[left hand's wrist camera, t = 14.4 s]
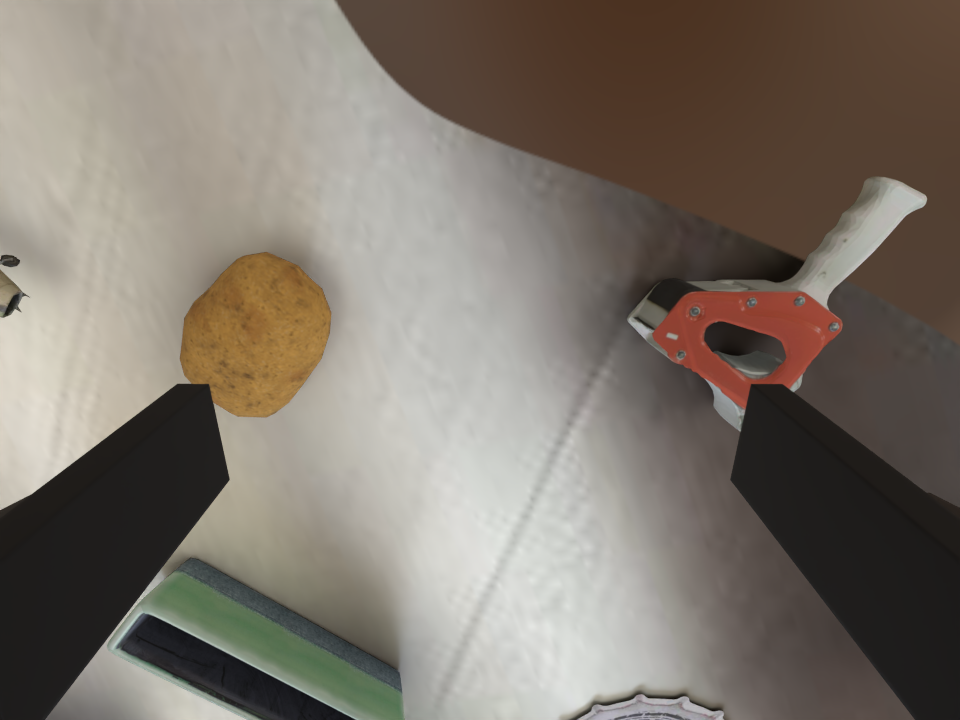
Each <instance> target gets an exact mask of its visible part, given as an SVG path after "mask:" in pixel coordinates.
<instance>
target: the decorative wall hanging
mask: <svg viewBox="0 0 960 720" xmlns="http://www.w3.org/2000/svg"><path fill="white" fill-rule="evenodd" d="M723 715H724V712H723V711H715V712H712V711H710V710H707V709H705V708H703V707H700V706H697V705H695V704H693V703H691V702H690V701H689V698H688V697H686V696H683V697H680V698H679V699H675V700H672V699H651V698H647V697H645V695H642V694H640V695H636V696H635V698H634V699H632V700H630V701H626V702H621V703H617V704H613V705H609V706H602V705H598V704H597V705H594V706H593V707H592V710H591V712H589V713H588V714H586V715H584V716H582V717H581V718H579V719H577V720H724V719H723Z"/></svg>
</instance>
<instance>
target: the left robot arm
mask: <svg viewBox="0 0 960 720" xmlns="http://www.w3.org/2000/svg"><path fill="white" fill-rule="evenodd" d="M229 480H230V479H229V474H228V470H227V465H226V460H225V456H224V451H223V446H222V442H221V437H220V432H219V428H218V423H217V418H216V414H215V409H214V404H213V400H212V395H211V390H210V386H209V384H177V385H175V386H174V387H173V388H171V389H170V390H169V391H167V392H166V393H165V394H164V395H162V396H161V397H160V398H158V399H157V400H156V401H154V402H153V403H152V404H150V405H149V406H148V407H146V408H145V409H144V410H142V411H141V412H140V413H138V414H137V415H136V416H134V417H133V418H132V419H131V420H129V421H128V422H127V423H125V424H124V425H123V426H121V427H120V428H119V429H117V430H116V431H115V432H113V433H112V434H111V435H109V436H108V437H107V438H105V439H104V440H103V441H101V442H100V443H99V444H98V445H96V446H95V447H94V448H92V449H91V450H90V451H88V452H87V453H86V454H84V455H83V456H82V457H80V458H79V459H78V460H76V461H75V462H74V463H72V464H71V465H70V466H68V467H67V468H66V469H65V470H63V471H62V472H61V473H59V474H58V475H57V476H55V477H54V478H53V479H51V480H50V481H49V482H47V483H46V484H45V485H43V486H42V487H41V488H39V489H38V490H37V491H35V492H34V493H33V494H32V495H29V496H27V497H25V498H23V499H22V500H20V501H18V502H16V503H14V504H12V505H10V506H8V507H6V508H4V509H2V510H0V720H45V719H46V718H47V716H48V715H49V714H50V712H51V711H52V710H53V708H54V707H55V706H56V705H57V703H58V702H59V701H60V699H61V698H62V697H63V695H64V694H65V693H66V692H67V690H68V689H69V688H70V686H71V685H72V684H73V683H74V681H75V680H76V679H77V677H78V676H79V675H80V673H81V672H82V671H83V670H84V668H85V667H86V666H87V664H88V663H89V662H90V660H91V659H92V658H93V657H94V655H95V654H96V653H97V651H98V650H99V649H100V647H101V646H102V645H103V644H104V642H105V641H106V640H107V638H108V637H109V636H110V634H111V633H112V632H113V631H114V629H115V628H116V627H117V625H118V624H119V623H120V621H121V620H122V619H123V618H124V616H125V615H126V614H127V612H128V611H129V610H130V608H131V607H132V606H133V605H134V603H135V602H136V601H137V599H138V598H139V597H140V596H141V594H142V593H143V592H144V590H145V589H146V588H147V586H148V585H149V584H150V583H151V581H152V580H153V579H154V577H155V576H156V575H157V573H158V572H159V571H160V570H161V568H162V567H163V566H164V564H165V563H166V562H167V560H168V559H169V558H170V557H171V555H172V554H173V553H174V551H175V550H176V549H177V547H178V546H179V545H180V544H181V542H182V541H183V540H184V538H185V537H186V536H187V534H188V533H189V532H190V531H191V529H192V528H193V527H194V525H195V524H196V523H197V522H198V520H199V519H200V518H201V516H202V515H203V514H204V512H205V511H206V510H207V509H208V507H209V506H210V505H211V503H212V502H213V501H214V499H215V498H216V497H217V496H218V494H219V493H220V492H221V490H222V489H223V488H224V486H225V485H226V484H227V483H228V481H229ZM730 480H731V481H732V483H733V484H734V485H735V486H736V488H737V489H738V490H739V492H740V493H741V494H742V496H743V497H744V498H745V499H746V501H747V502H748V503H749V505H750V506H751V507H752V509H753V510H754V511H755V512H756V514H757V515H758V516H759V518H760V519H761V520H762V522H763V523H764V524H765V525H766V527H767V528H768V529H769V531H770V532H771V533H772V534H773V536H774V537H775V538H776V540H777V541H778V542H779V544H780V545H781V546H782V547H783V549H784V550H785V551H786V553H787V554H788V555H789V557H790V558H791V559H792V560H793V562H794V563H795V564H796V566H797V567H798V568H799V570H800V571H801V572H802V573H803V575H804V576H805V577H806V579H807V580H808V581H809V583H810V584H811V585H812V586H813V588H814V589H815V590H816V592H817V593H818V594H819V596H820V597H821V598H822V599H823V601H824V602H825V603H826V605H827V606H828V607H829V609H830V610H831V611H832V612H833V614H834V615H835V616H836V618H837V619H838V620H839V621H840V623H841V624H842V625H843V627H844V628H845V629H846V631H847V632H848V633H849V634H850V636H851V637H852V638H853V640H854V641H855V642H856V644H857V645H858V646H859V647H860V649H861V650H862V651H863V653H864V654H865V655H866V657H867V658H868V659H869V660H870V662H871V663H872V664H873V666H874V667H875V668H876V670H877V671H878V672H879V673H880V675H881V676H882V677H883V679H884V680H885V681H886V683H887V684H888V685H889V686H890V688H891V689H892V690H893V692H894V693H895V694H896V695H897V697H898V698H899V699H900V701H901V702H902V703H903V705H904V706H905V707H906V708H907V710H908V711H909V712H910V714H911V715H912V716H913V718H914V719H915V720H960V508H959V507H957V506H955V505H953V504H951V503H949V502H947V501H945V500H943V499H941V498H939V497H937V496H935V495H933V494H931V493H926V492H925V491H923V490H922V489H921V488H919V487H918V486H917V485H915V484H914V483H913V482H911V481H910V480H909V479H907V478H906V477H905V476H903V475H902V474H901V473H899V472H898V471H897V470H895V469H894V468H893V467H892V466H890V465H889V464H888V463H886V462H885V461H884V460H882V459H881V458H880V457H878V456H877V455H876V454H874V453H873V452H872V451H870V450H869V449H868V448H866V447H865V446H864V445H862V444H861V443H860V442H859V441H857V440H856V439H855V438H853V437H852V436H851V435H849V434H848V433H847V432H845V431H844V430H843V429H841V428H840V427H839V426H837V425H836V424H835V423H833V422H832V421H831V420H829V419H828V418H827V417H826V416H824V415H823V414H822V413H820V412H819V411H818V410H816V409H815V408H814V407H812V406H811V405H810V404H808V403H807V402H806V401H804V400H803V399H802V398H800V397H799V396H798V395H796V394H795V393H794V392H793V391H791V390H790V389H789V388H787V387H786V386H785V385H783V384H751V386H750V390H749V395H748V400H747V404H746V409H745V414H744V418H743V423H742V428H741V432H740V437H739V442H738V446H737V451H736V456H735V460H734V465H733V470H732V474H731V479H730Z"/></svg>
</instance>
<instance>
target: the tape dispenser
mask: <svg viewBox="0 0 960 720" xmlns="http://www.w3.org/2000/svg"><path fill="white" fill-rule="evenodd" d="M926 201H927V198H926V196H925V195H924V194H922V193H921V192H919V191H917V190H914V189H912V188H911V187H909V186H907V185H906V184H904V183H902V182H900V181H897V180H894V179H890V178H886V177H878V176H877V177H870V178H868V179H867V180H866V181H865V182H864V185H863V188H862V191H861V193H860V195H859V197H858V198H857V200H856V201H855V203H854V204H853V205H852V206H851V207H850V208H849V209H848V210H846V211H845V212H843V213H842V215H841V217H840V219H839V221H838V223H837V225H836V226H835V227H834V228H833V229H832V230H831V231H830V232H828V233H827V234H826V235H825V237H824V239H823V241H822V242H821V244H820V245H819V246H818V247H817V249H816V250H814V251H813V252H811V253H810V254H809V255H808V256H807V258H806V260H805V262H804V264H803V266H802V267H801V269H800V270H799V271H798V273H797V274H796V275H795V276H793V277H792V278H791V279H789V280H786V281H784V282H780V283H774V282H771V281H767V280H717V281H690V282H684V281H682V280H679V279H675V278H669V279H666V280H663V281H661V282H659V283H658V284H657V285H655V286H654V288H653V289H652V290H651V291H650V292H649V293H648V294H647V295H646V296H645V298H644V299H643V300H642V301H641V302H640V303H639V304H638V305H637V307H636V308H635V309H634V310H633V311H632V312H631V313H630V314H629V316H628V318H627V320H628V322H629V323H630V324H631V325H632V326H633V327H634V328H635V329H636V330H637V331H638V332H639V333H640V334H641V336H642V337H643V338H644V339H645V340H646V341H647V342H648V343H649V344H651V345H652V346H653V347H654V348H656V349H657V350H658V351H660V352H661V353H662V354H664V355H665V356H667V357H668V358H669V359H670V360H671V361H673V362H675V363H677V364H683V365H684V366H685V367H686V368H691V370H692V371H693V372H697V373H698V374H699V375H700V376H701V377H702V378H704V379H705V380H706V381H707V382H708V383H709V385H710V386H711V388H712V390H713V393H714V405H713V406H714V407H715V409H716V410H717V411H718V413H719V414H720V415H721V416H722V417H723V418H724V419H725V420H726V421H728V422H729V423H730V424H731V425H732V426H734V427H735V428H736V429H737V430H739V431H740V432H741V428H742V423H743V418H744V414H745V409H746V404H747V400H748V395H749V390H750V386H751V384H783V385H785V386H786V387H787V388H789V389H790V390H791V391H793V392H794V391H795V390H797V389H798V388H799V387H800V385H801V381H802V374H803V373H804V372H805V370H806V368H807V367H808V365H809V364H810V363H811V362H812V360H813V359H814V358H815V357H816V356H817V355H818V354H819V352H820V351H821V350H822V348H823V347H824V346H825V345H827V344H828V343H829V342H830V341H831V340H832V339H833V338H834V337H836V336H837V335H838V334H839V332H840V331H841V330H842V326H843V323H842V321H841V319H839V318H838V317H837V316H835V315H834V314H833V313H832V312H830V311H829V309H828V307H827V300H828V297H829V294H830V293H831V292H832V290H833V289H834V288H835V287H836V286H837V285H838V284H839V283H841V282H842V281H843V280H844V279H845V278H846V277H847V276H848V275H850V274H851V273H852V272H853V271H854V270H855V269H856V268H857V267H858V266H859V265H860V264H861V263H862V262H863V261H864V260H865V259H866V258H867V257H868V256H870V255H871V254H872V253H873V252H874V251H875V249H876V248H877V247H878V246H879V245H880V244H881V243H882V242H883V241H884V240H885V238H886V237H887V236H888V235H889V234H890V233H891V232H892V230H893V229H894V228H895V227H896V226H897V225H898V224H899V222H900V221H901V220H902V219H903V218H904V217H905V216H906V215H907V214H909V213H910V212H912V211H914V210H916V209H919V208H922V207H923V206H924V205H925V204H926ZM718 321H725V322H728V323H731V324H734V325H737V326H740V327H744V328H747V329H750V330H754V331H756V332H759V333H764V334H767V335H770V336H773V337H775V338H777V339H779V340H780V341H781V342H782V344H783V347H784V350H785V353H786V359H785V361H784V362H782V361H781V360H780V359H778V358H776V357H774V356H772V355H771V354H769V353H765V352H762V351H758V350H757V351H754V352H752V353H750V354H747V355H742V356H733V355H728V354H724V353H721V352H719V351H714V352H712V351H711V350H710V348H709V347H708V345H707V344H706V342H705V341H704V334H705V331H706V329H707V327H708V326H709V325H711V324H712V323H714V322H715V323H716V322H718Z"/></svg>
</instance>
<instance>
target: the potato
mask: <svg viewBox="0 0 960 720" xmlns="http://www.w3.org/2000/svg"><path fill="white" fill-rule="evenodd" d="M330 322H331V311H330V308H329V306H328V303H327V300H326V298H325V295H324V293H323V290H322V288H321V287H320V286H318V285H317V284H316V283H315V282H314V281H313V280H311V279H310V278H309V277H308V276H307V275H306V274H305V273H304V272H303V270H302V269H301V268H300V267H299V266H297V265H295V264H293V263H291V262H288V261H286V260H284V259H282V258H279V257H277V256H275V255H272V254H270V253H268V252H264V253H258V254H252V255H246V256H243V257H241V258H238V259H237V260H236V261H235V262H234V263H233V264H232V265H231V266H229V267H228V268H227V269H226V270H225V271H224V272H223V273H222V274H221V275H220V276H219V278H218V279H217V280H216V281H215V282H214V284H213V285H212V286H211V287H210V288H209V289H208V290H207V291H206V292H205V293H204V294H202V295H201V296H200V297H199V298H198V299H197V300H196V301H195V302H194V303H193V305H192V306H191V308H190V310H189V311H188V313H187V315H186V316H185V318H184V327H183V337H182V346H181V354H180V361H181V365H182V368H183V372H184V375H185V376H186V378H187V379H188V380H189V381H190V382H191V383H192V384H209V386H210V390H211V395H212V400H213V402H214V403H215V404H217V405H219V406H220V407H222V408H223V409H225V410H227V411H228V412H230V413H232V414H234V415H236V416H239V417H268V416H270V415H272V414H274V413H276V412H277V411H278V410H280V409H281V408H282V407H284V406H285V405H286V404H287V403H289V402H290V400H291V399H292V398H293V396H294V395H295V394H296V393H297V391H298V390H299V389H300V388H301V386H302V385H303V384H304V382H305V381H306V379H307V378H308V377H309V375H310V374H311V372H312V371H313V370H314V368H315V367H316V365H317V364H318V363H319V361H320V360H321V358H322V355H323V352H324V349H325V346H326V343H327V340H328V336H329V333H330Z"/></svg>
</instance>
